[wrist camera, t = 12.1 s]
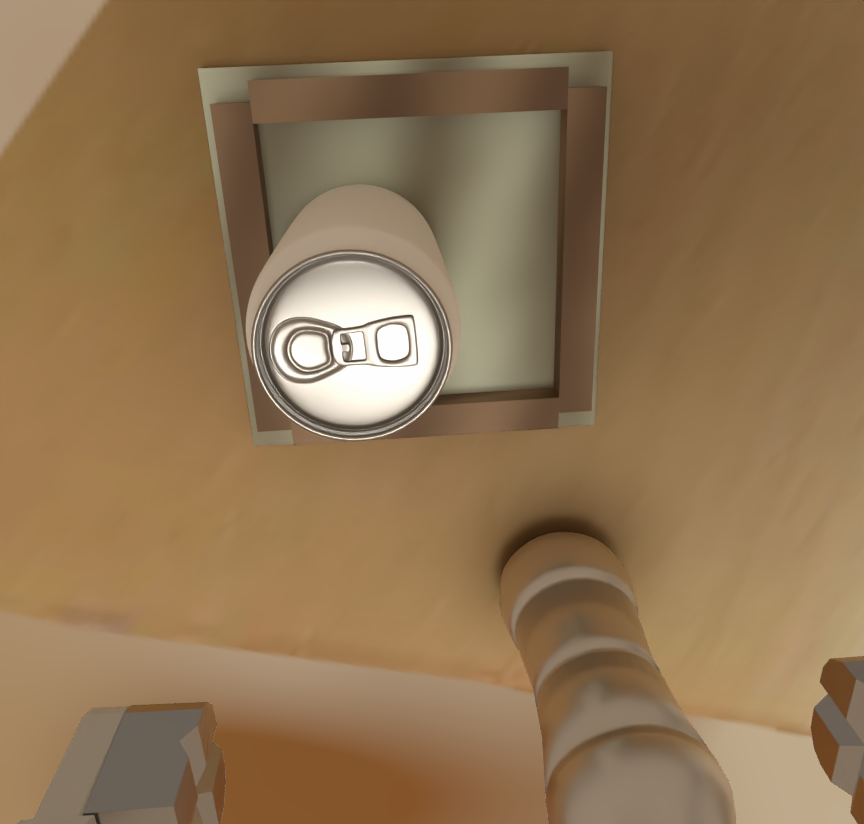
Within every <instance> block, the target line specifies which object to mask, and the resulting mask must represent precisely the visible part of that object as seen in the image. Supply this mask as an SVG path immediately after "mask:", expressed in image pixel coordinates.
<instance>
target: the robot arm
mask: <svg viewBox="0 0 864 824" xmlns="http://www.w3.org/2000/svg"><path fill="white" fill-rule="evenodd" d="M820 683H821V684H822V686H823V687H824V689H825V690H826V691H827V693H828V694H827V695H826V696H825V697H824V698H823V699H822V700H821V701H820V702H819V703H818V704H817V705H816V706H815V707H814V710H813V716H812V722H811V732H812V739H813V745H814V749H815V752H816V754H817V757H818V759H819V762H820V764H821V766H822V768H823V769H824V771H825V773H826V774H827V776H828V778H829V779H830V781H831V782H832V783H833V784H835V785H837V786H838V787H839V788H841V789H843V790H844V791H845V792H847V793H848V794H850V795H851V796H852V804H851V814H852V816H853V817H854V818H855V820H856V822H857V823H858V824H864V656H858V657H845V658H833V659H829V661H828V662H827V663H826V664H825V665H824V667H823V670H822V674H821V678H820ZM216 726H217V722H216V718H215V714H214V710H213V706H212V704H210V703H208V702H197V703H173V704H151V705H132V706H128V707H101V708H91V709H90V710H89V711H88V712H87V713H86V714H85V715H84V716H83V717H82V719H81V721H80V723H79V725H78V727H77V729H76V732H75V734H74V736H73V738H72V740H71V742H70V744H69V746H68V748H67V751H66V752H65V755H64V757H63V759H62V761H61V763H60V765H59V767H58V769H57V771H56V774H55V775H54V778H53V780H52V782H51V784H50V786H49V788H48V790H47V793H46V794H45V797H44V798H43V800H42V803H41V805H40V807H39V809H38V811H37V813H36V815H35V817H34V819H30V820H21V821H20V822H18V823H17V824H220V823H221V818H222V813H223V808H224V798H225V785H226V779H225V763H224V758H223V752H222V749H221V748H219V747H218V746H217V745H216V744H215V743H213V742H212V741H213V737H214V733H215V729H216Z"/></svg>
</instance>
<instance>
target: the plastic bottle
mask: <svg viewBox="0 0 864 824" xmlns="http://www.w3.org/2000/svg"><path fill="white" fill-rule="evenodd" d="M500 610H501V615H502V617H503V620H504V622H505V624H506V627H507V629H508V631H509V633H510V636H511V638H512V640H513V642H514V643H515V645H516V647H517V648H518V650H519V652H520V654H521V657H522V660H523V663H524V666H525V668H526V671H527V674H528V677H529V680H530V682H531V685H532V688H533V691H534V695H535V701H536V707H537V712H538V717H539V723H540V729H541V735H542V746H543V763H544V780H545V794H546V807H547V813H548V821H549V824H736V814H735V807H734V800H733V794H732V790H731V787H730V784H729V781H728V779H727V777H726V775H725V774H724V772H723V770H722V769H721V767H720V765H719V763H718V761H717V760H716V758H715V757H714V755H713V754H712V753H711V751H710V750H709V749H708V747H707V746H706V744H705V743H704V741H703V740H702V738H701V737H700V735H699V734H698V733H697V731H696V730H695V728H694V727H693V725H692V724H691V722H690V721H689V720H688V718H687V717H686V715H685V714H684V712H683V711H682V709H681V708H680V706H679V705H678V703H677V701H676V699H675V698H674V696H673V694H672V692H671V690H670V688H669V687H668V685H667V683H666V681H665V679H664V678H663V676H662V675H661V673H660V670H659V668H658V666H657V664H656V663H655V661H654V659H653V657H652V655H651V652H650V649H649V646H648V643H647V640H646V637H645V634H644V631H643V628H642V625H641V623H640V620H639V616H638V607H637V600H636V596H635V592H634V589H633V585H632V582H631V579H630V576H629V573H628V572H627V570H626V569H625V567H624V566H623V564H622V563H621V562H620V561H619V559H618V558H617V557H616V556H615V555H614V553H613V552H612V551H611V550H610V549H609V548H608V547H607V546H606V545H604V544H603V543H602V542H600V541H598V540H597V539H595V538H592V537H590V536H587V535H584V534H579V533H573V532H554V533H548V534H545V535H542V536H539V537H536V538H534V539H532V540H531V541H529V542H527V543H526V544H525V545H523V546H522V547H521V548H520V549H518V550H517V551H516V552H515V553H514V554H513V555H512V557H511V558H510V559H509V560H508V562H507V564H506V566H505V567H504V569H503V573H502V576H501V583H500Z"/></svg>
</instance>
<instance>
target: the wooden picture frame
mask: <svg viewBox="0 0 864 824" xmlns="http://www.w3.org/2000/svg"><path fill="white" fill-rule="evenodd" d="M612 64H613V51H596V52H573V53H549V54H526V55H502V56H479V57H456V58H432V59H409V60H385V61H362V62H338V63H315V64H292V65H268V66H245V67H221V68H198V74H199V81H200V88H201V94H202V101H203V108H204V114H205V121H206V128H207V134H208V141H209V148H210V155H211V161H212V168H213V175H214V181H215V188H216V195H217V201H218V208H219V215H220V221H221V228H222V235H223V242H224V248H225V255H226V262H227V268H228V275H229V282H230V288H231V295H232V302H233V309H234V315H235V322H236V329H237V335H238V342H239V349H240V355H241V362H242V369H243V376H244V382H245V389H246V396H247V402H248V409H249V416H250V422H251V429H252V436H253V442H254V446H263V445H279V444H293V445H301V444H317V443H332V442H348V441H341V440H335V439H330V438H326V437H322V436H319V435H316V434H314V433H311V432H309V431H307V430H305V429H303V428H301V427H300V426H298V425H296V424H295V423H293V422H292V421H291V420H289V419H288V418H287V417H286V416H284V415H283V414H282V413H281V412H280V411H279V410H278V409H277V408H276V407H275V406H274V404H273V403H272V402H271V401H270V399H269V398H268V396H267V395H266V393H265V392H264V390H263V388H262V386H261V384H260V382H259V380H258V378H257V375H256V372H255V369H254V365H253V363H252V360H251V357H250V354H249V350H248V346H247V339H246V314H247V308H248V303H249V299H250V295H251V292H252V290H253V287H254V285H255V282H256V280H257V278H258V276H259V274H260V272H261V271H262V269H263V267H264V266H265V264H266V262H267V261H268V259H269V258H270V256H271V254H272V253H273V251H274V250H275V248H276V247H277V245H278V244H279V242H280V240H281V239H282V237H283V236H284V234H285V233H286V231H287V230H288V228H289V227H290V225H291V224H292V222H293V221H294V220H295V218H296V217H297V216H298V214H299V213H300V212H301V211H302V210H303V209H304V207H305V206H306V205H308V204H309V203H310V202H311V201H312V200H314V199H315V198H316V197H318V196H319V195H321V194H323V193H325V192H327V191H329V190H331V189H334V188H337V187H341V186H345V185H353V184H366V185H374V186H378V187H382V188H385V189H388V190H390V191H392V192H394V193H396V194H398V195H400V196H401V197H403V198H404V199H406V200H407V201H408V202H410V203H411V204H412V205H413V206H414V207H415V208H416V209H417V210H418V211H419V212H420V213H421V214H422V216H423V217H424V219H425V220H426V222H427V223H428V225H429V227H430V229H431V231H432V233H433V235H434V237H435V240H436V242H437V245H438V247H439V250H440V253H441V255H442V258H443V261H444V263H445V266H446V269H447V272H448V274H449V277H450V280H451V283H452V286H453V289H454V292H455V295H456V298H457V302H458V307H459V312H460V319H461V339H460V347H459V352H458V356H457V360H456V363H455V366H454V368H453V371H452V373H451V375H450V377H449V379H448V380H447V382H446V384H445V385H444V387H443V389H442V391H441V393H440V394H439V396H438V398H437V399H436V400H435V402H434V403H433V404H432V406H431V407H430V408H429V409H428V410H427V411H426V412H425V413H424V414H423V415H422V416H421V417H420V418H419V419H417V420H416V421H415V422H413V423H412V424H410V425H409V426H407V427H406V428H404V429H402V430H400V431H398V432H396V433H393V434H391V435H388V436H385V437H382V438H378V439H373V440H379V439H395V438H411V437H426V436H442V435H458V434H474V433H489V432H505V431H521V430H536V429H552V428H558V427H561V426H577V425H593V424H594V422H595V402H596V382H597V362H598V342H599V322H600V303H601V283H602V263H603V243H604V223H605V203H606V183H607V163H608V143H609V123H610V103H611V83H612Z"/></svg>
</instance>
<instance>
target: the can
mask: <svg viewBox="0 0 864 824" xmlns="http://www.w3.org/2000/svg"><path fill="white" fill-rule="evenodd" d="M246 339H247V346H248V350H249V354H250V357H251V360H252V363H253V365H254V369H255V372H256V375H257V378H258V380H259V382H260V384H261V386H262V388H263V390H264V392H265V393H266V395H267V396H268V398H269V399H270V401H271V402H272V403H273V404H274V406H275V407H276V408H277V409H278V410H279V411H280V412H281V413H282V414H283V415H284V416H286V417H287V418H288V419H289V420H291V421H292V422H293V423H295V424H296V425H298V426H300V427H301V428H303V429H305V430H307V431H309V432H311V433H314V434H316V435H319V436H322V437H326V438H330V439H335V440H341V441H366V440H373V439H378V438H382V437H385V436H388V435H391V434H393V433H396V432H398V431H400V430H402V429H404V428H406V427H407V426H409V425H410V424H412V423H413V422H415V421H416V420H417V419H419V418H420V417H421V416H422V415H423V414H424V413H425V412H426V411H427V410H428V409H429V408H430V407H431V406H432V404H433V403H434V402H435V400H436V399H437V398H438V396H439V394H440V393H441V391H442V389H443V387H444V385H445V384H446V382H447V380H448V379H449V377H450V375H451V373H452V371H453V368H454V366H455V363H456V360H457V356H458V352H459V347H460V339H461V319H460V312H459V307H458V302H457V298H456V295H455V292H454V289H453V286H452V283H451V280H450V277H449V274H448V272H447V269H446V266H445V263H444V261H443V258H442V255H441V253H440V250H439V247H438V245H437V242H436V240H435V237H434V235H433V233H432V231H431V229H430V227H429V225H428V223H427V222H426V220H425V219H424V217H423V216H422V214H421V213H420V212H419V211H418V210H417V209H416V208H415V207H414V206H413V205H412V204H411V203H410V202H408V201H407V200H406V199H404V198H403V197H401V196H400V195H398V194H396V193H394V192H392V191H390V190H388V189H385V188H382V187H378V186H374V185H366V184H353V185H345V186H341V187H337V188H334V189H331V190H329V191H327V192H325V193H323V194H321V195H319V196H318V197H316V198H315V199H314V200H312V201H311V202H310V203H309V204H308V205H306V206H305V207H304V209H303V210H302V211H301V212H300V213H299V214H298V216H297V217H296V218H295V220H294V221H293V222H292V224H291V225H290V227H289V228H288V230H287V231H286V233H285V234H284V236H283V237H282V239H281V240H280V242H279V244H278V245H277V247H276V248H275V250H274V251H273V253H272V254H271V256H270V258H269V259H268V261H267V262H266V264H265V266H264V267H263V269H262V271H261V272H260V274H259V276H258V278H257V280H256V282H255V285H254V287H253V290H252V292H251V295H250V299H249V303H248V308H247V314H246Z"/></svg>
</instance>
